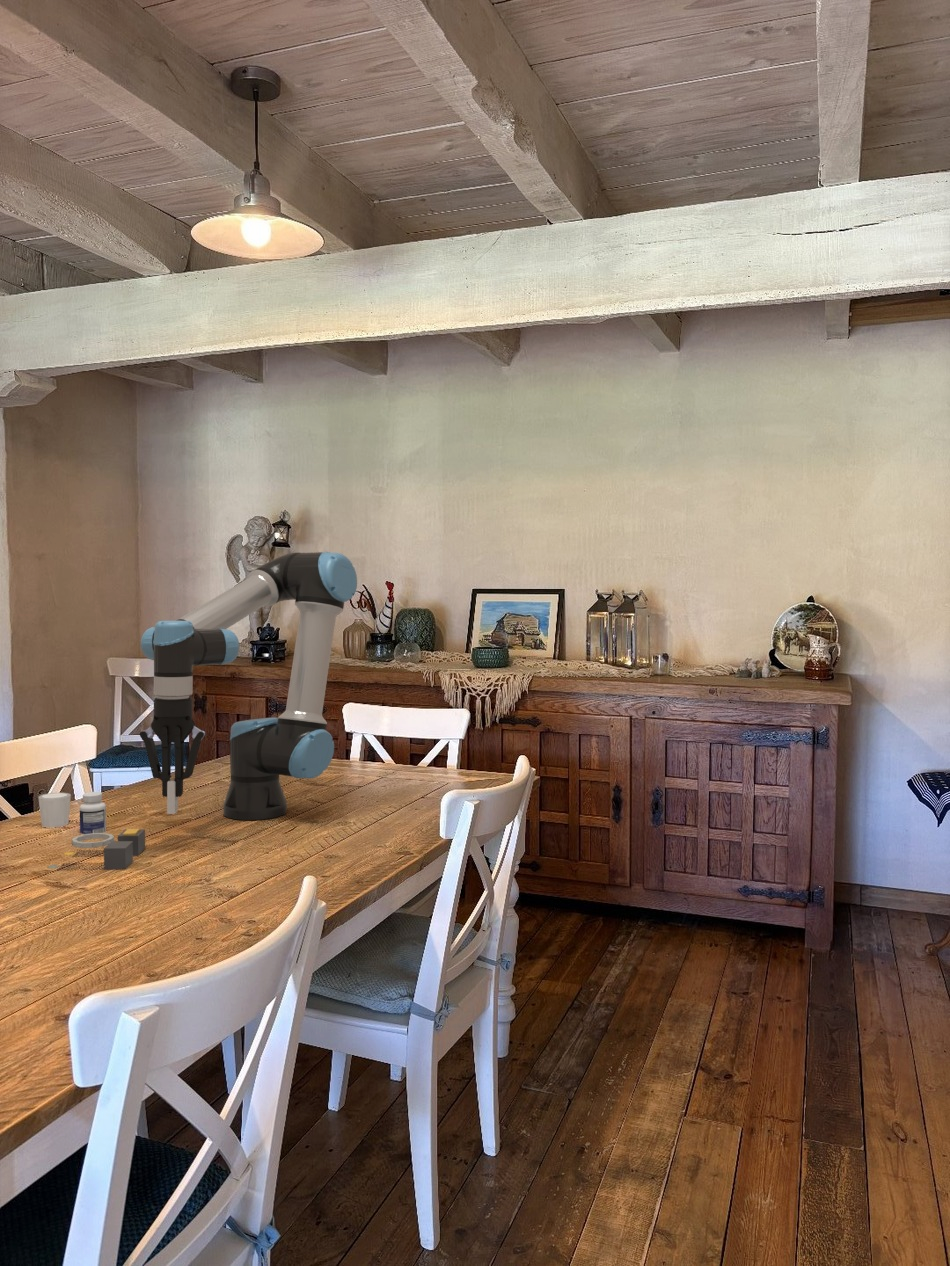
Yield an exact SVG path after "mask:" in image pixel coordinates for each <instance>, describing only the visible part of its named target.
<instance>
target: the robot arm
mask: <svg viewBox="0 0 950 1266" xmlns="http://www.w3.org/2000/svg"><path fill="white" fill-rule="evenodd" d="M353 565H354V564H353V563H352V561H351V560H350V558H348V557H347V556H346V555H344V554H342V553H340V552H331V551H323V552H322V551H321V552H291V553H286V554H284V555H281V556H279V557H276V558H274V559H272V560H270V561H268V562H266V563H263V564H262V565H260V566H259V567H257V568H255V569H254V570H252V571H250V572H249V573H248V575H247V577H246V579H244V580H243V581H241V582H240V583H238V584H236V585H234V586H233V587H231V588H229V589H228V590H226V591H224V592H222V593H220V594H219V595H217V596H215V597H214V598H212V599H211V600H209V601H207V602H205V603H204V604H202V605H199V607H197V608H194V609H193V610H191V611H190V612H188V613H186V614H185V615H183V616H181V617H179V618H178V619H176V620H159V621H157V622H156V623H155V625H154V626H152V627H149V628H148V629H146V630H145V631H144V632H143V634H142V636H141V640H140V648H141V651H142V654H143V655H144V656H145V658H147V659H148V660H151V661H153V695H154V696H155V698H154V699H153V720H152V721H151V724H150V726H149V727H148V728H147V729H144V730H141V731H140V732H139V737H140V738H141V740H142V742H143V743H144V746H145V750H146V754H147V758H148V762H149V766H150V771H151V775H152V777H153V778H154V779H159V780H160V781H161V784H162V785H161V787H162V788H161V791H162V792H161V794H162V797H164V798H166V797H167V799H166V801H167V802H166V814H167V815H176V813H177V812H178V810H179V798H180V797H182V796H183V793H184V780H186V779H189V778H191V776H193V774H194V773H193V772H194V769H195V765H196V761H197V757H198V754H199V749H200V746H201V742H202V740H204V737H205V736H206V734H207V732H206V731H205V730H204V729H203V730H201V729H200V728H198V727H196V723H195V721H194V718H193V698H192V697H191V696H192V695H193V685H194V684H193V677H194V676H193V673H194V667H196V666H197V667H198V666H210V665H211V666H213V665H215V666H216V665H217V666H218V665H219V666H223V665H225V664H230V663H232V662H233V661H235V660H236V659H237V657H238V655H239V652H240V641H239V639H238V637H237V635H236V633H235V632H234V631H232V630H230V629H229V628H230V627H232V626H234V625H236V624H237V623H238V622H240V621H241V620H243V619H245V618H247V617H248V616H249V615H251V614H253V613H254V612H256V611H258V610H260V609H261V608H262V607H271V606H274V605H276V604H277V603H280V602H283V601H290V600H291V601H292V600H295V601H294V605H295V606H296V608H297V609H298V611H299V618H298V619H299V620H298V625H297V633H296V639H295V646H294V652H293V659H292V664H291V665H292V666H291V673H290V678H289V679H290V680H289V685H288V693H287V701H286V704H285V705H286V707H285V711H283V713H281V714H280V715H278V717H264V718H263V717H262V718H254V719H247V720H241V721H236V722H233V723H232V725H231V727H230V737H229V754H230V755H229V760H230V761H229V762H230V763H229V764H230V783H229V787H228V789H227V792H226V796H225V800H224V802H223V807H222V809H223V810H222V814H223V816H224V817H225V818H228V819H233V820H240V821H259V820H268V819H273V818H278V817H281V816H283V815H285V814H286V813H287V810H288V809H287V800H286V797H285V795H284V794H285V793H284V790H283V788H282V785H281V780H280V776H286V777H292V778H294V779H314V778H317V777H319V776H321V775H322V774H323V773H324V771H326V770H327V769H328V768H329V766H330V764H331V762H332V760H333V757H334V751H335V741H334V740H333V735H332V734H331V733H330V732H329V731H327V727H328V722H327V721H326V719H325V718H324V717H323V710H324V703H325V696H326V689H327V688H326V687H327V680H328V674H329V667H330V661H331V654H332V648H333V647H332V646H333V640H334V632H335V627H336V619H337V617H338V615H340V614H341V613H342V612H344V609H345V607H344V606H345V603H346V602H349V601H350V600H351V599H353V596H355V594H356V592H357V588H358V577H357V572H356V569H355V567H354V566H353ZM191 733H192V736H191V737H192V739H193V740H192V743H191V746H190V750H189V754H188V758H187V761H186V765H184V762H185V760H184V758H185V757H184V756H185V753H184V749H185V747H184V746H185V740H186V739H187V738H188V737H189V735H190V734H191ZM155 735H156V736H157V737H158V740H160V742H161V743H160V744H161V746H160V747H161V765H160V760H159V757H158V752H157V748H156V747H157V746H156V744H155V741H154V736H155ZM172 743H173V745H174V779H171V778H172V775H171V774H172V773H171V772H172V767H171V766H172V764H171V762H172V761H171V760H172ZM184 767H185V769H184Z"/></svg>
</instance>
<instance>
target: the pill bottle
mask: <svg viewBox="0 0 950 1266" xmlns="http://www.w3.org/2000/svg"><path fill="white" fill-rule="evenodd" d="M102 800H103V793H102V792H101V791H89V792H84V793H83V794H82V801H83V803H81V804H80V806H79V833H80V834H81V835H84V834H91V833H106V832H107V808H106V807H107V805H106V803H105V802H103V801H102Z"/></svg>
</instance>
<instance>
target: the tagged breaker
mask: <svg viewBox="0 0 950 1266" xmlns="http://www.w3.org/2000/svg"><path fill="white" fill-rule="evenodd" d="M117 841H133V855H139V856H140V855H141V854H140V853H141V852H144V850H145V849H146V829H145V828H143V829H141V828H128V829H124V830H123V831H122V832H120V833H119V834H118V835H117Z"/></svg>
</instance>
